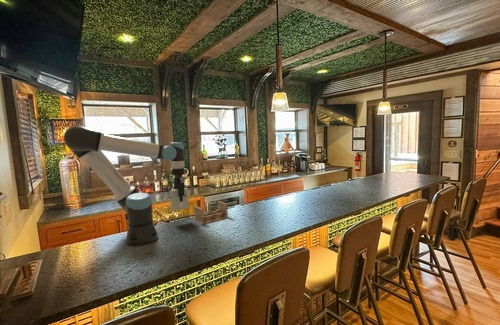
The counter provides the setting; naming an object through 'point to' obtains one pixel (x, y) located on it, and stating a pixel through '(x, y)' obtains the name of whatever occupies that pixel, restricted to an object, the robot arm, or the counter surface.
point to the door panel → (174, 199)
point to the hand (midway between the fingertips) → (179, 206)
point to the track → (211, 214)
